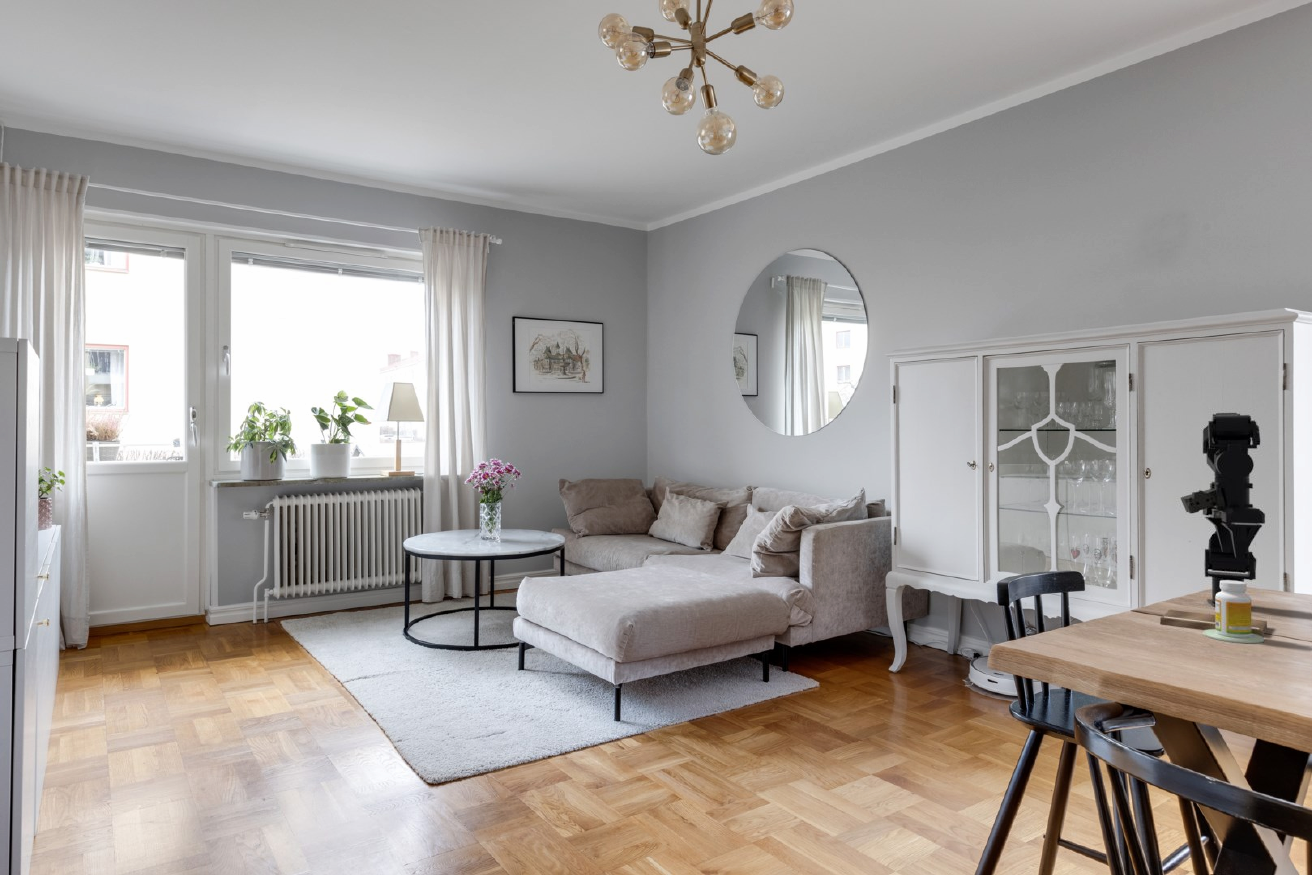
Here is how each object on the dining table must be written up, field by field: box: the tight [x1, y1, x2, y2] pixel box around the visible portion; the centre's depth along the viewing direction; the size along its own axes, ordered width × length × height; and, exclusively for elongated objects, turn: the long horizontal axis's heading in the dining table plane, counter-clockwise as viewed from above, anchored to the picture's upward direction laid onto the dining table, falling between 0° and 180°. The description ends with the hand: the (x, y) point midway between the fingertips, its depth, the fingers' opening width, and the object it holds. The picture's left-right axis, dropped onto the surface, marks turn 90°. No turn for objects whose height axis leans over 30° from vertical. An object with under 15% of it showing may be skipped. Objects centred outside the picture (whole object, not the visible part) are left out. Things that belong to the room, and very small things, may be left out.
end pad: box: [1203, 629, 1265, 644], centre depth 147 cm, size 9×9×1 cm
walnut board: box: [1159, 609, 1268, 637], centre depth 156 cm, size 16×10×1 cm, turn 48°
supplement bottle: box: [1214, 580, 1252, 638], centre depth 147 cm, size 5×5×10 cm
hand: (1232, 555), depth 160 cm, fingers open, 9 cm apart
